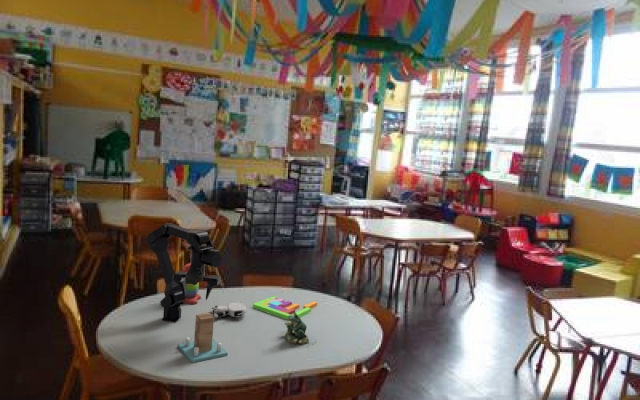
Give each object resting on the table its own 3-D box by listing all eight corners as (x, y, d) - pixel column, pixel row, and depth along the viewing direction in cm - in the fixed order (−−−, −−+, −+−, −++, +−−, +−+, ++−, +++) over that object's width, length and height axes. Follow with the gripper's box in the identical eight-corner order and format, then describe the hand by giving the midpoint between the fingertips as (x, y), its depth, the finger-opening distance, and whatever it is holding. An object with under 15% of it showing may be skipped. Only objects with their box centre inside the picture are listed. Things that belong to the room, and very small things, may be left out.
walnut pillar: (193, 346, 192) (195, 314, 190) (206, 344, 195) (208, 312, 193) (199, 352, 188) (201, 319, 186) (211, 349, 191) (213, 317, 189)
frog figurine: (270, 330, 217) (273, 304, 215) (311, 330, 221) (314, 305, 220) (277, 349, 200) (279, 321, 198) (321, 348, 204) (324, 321, 203)
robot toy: (213, 323, 220) (248, 319, 225) (213, 313, 220) (248, 310, 224) (210, 312, 232) (243, 309, 237) (210, 303, 231) (243, 300, 236)
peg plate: (178, 346, 193) (178, 336, 193) (212, 340, 202) (212, 330, 201) (191, 362, 182) (192, 352, 182) (227, 355, 190) (228, 345, 190)
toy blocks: (291, 322, 229) (320, 308, 250) (292, 317, 228) (321, 303, 249) (252, 308, 240) (283, 296, 261) (253, 304, 240) (284, 291, 261)
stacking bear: (196, 304, 237) (198, 268, 234) (174, 302, 237) (176, 266, 234) (201, 297, 247) (204, 261, 245) (181, 295, 247) (183, 259, 245)
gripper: (168, 264, 200) (166, 302, 202) (214, 270, 198) (211, 307, 201) (178, 257, 211) (176, 293, 213) (222, 262, 209) (219, 298, 212)
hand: (195, 298), depth 209 cm, fingers open, 9 cm apart
